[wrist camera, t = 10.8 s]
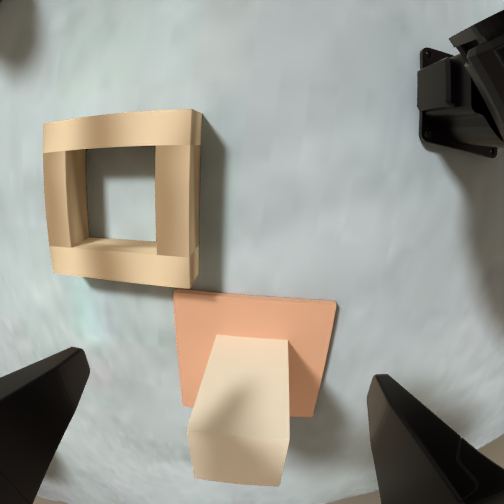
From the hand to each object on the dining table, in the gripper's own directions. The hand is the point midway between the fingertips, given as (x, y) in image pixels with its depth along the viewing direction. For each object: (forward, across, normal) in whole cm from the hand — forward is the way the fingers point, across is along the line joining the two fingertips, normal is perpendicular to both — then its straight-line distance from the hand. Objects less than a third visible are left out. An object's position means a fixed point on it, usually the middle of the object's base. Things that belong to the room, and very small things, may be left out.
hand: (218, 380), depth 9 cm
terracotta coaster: (+13, 0, +9) cm, 15 cm away
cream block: (+12, 0, +9) cm, 15 cm away
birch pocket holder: (+13, +9, -3) cm, 16 cm away
